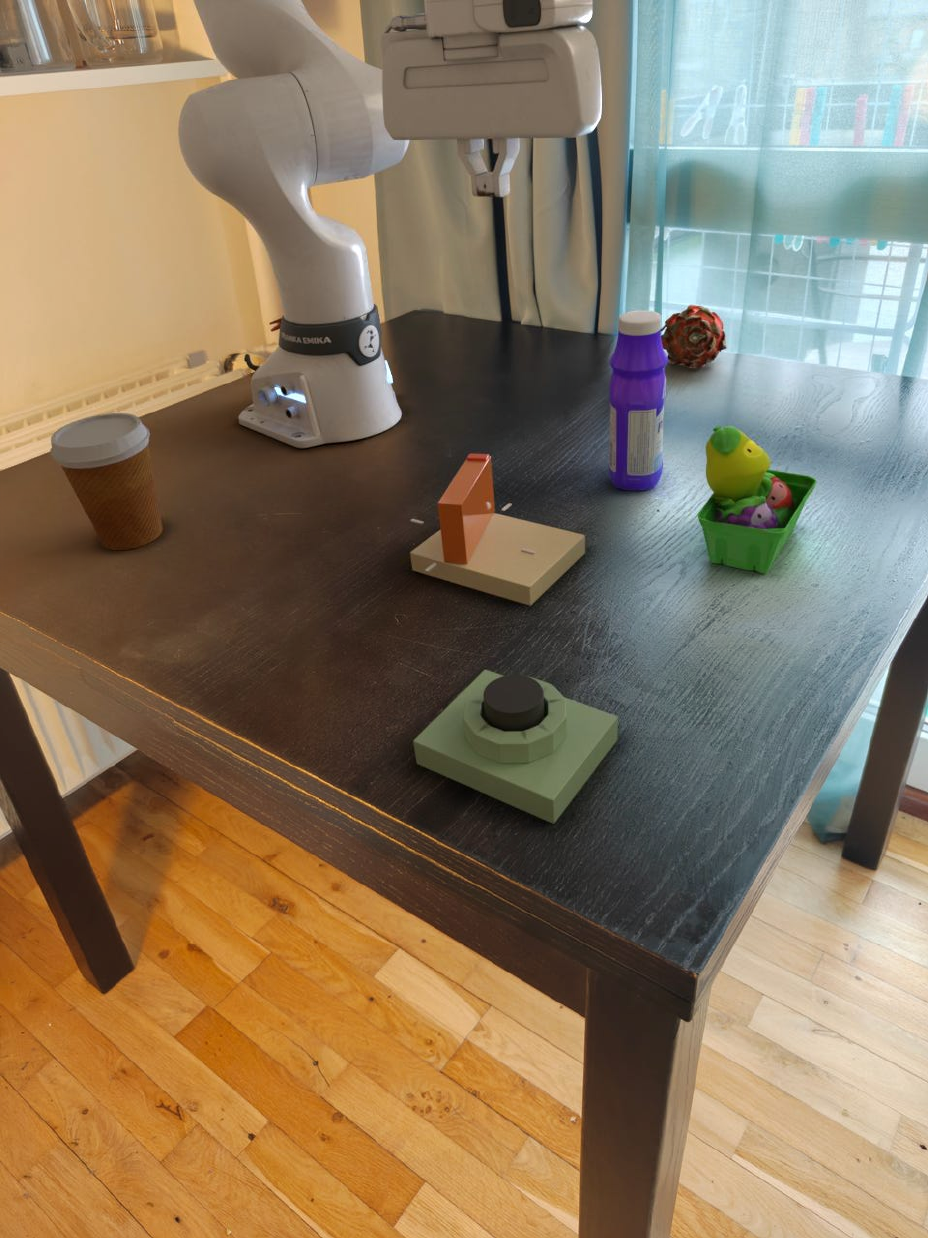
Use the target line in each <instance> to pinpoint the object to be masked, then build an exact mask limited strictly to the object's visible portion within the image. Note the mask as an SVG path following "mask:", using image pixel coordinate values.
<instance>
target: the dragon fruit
mask: <svg viewBox="0 0 928 1238" xmlns="http://www.w3.org/2000/svg"><path fill="white" fill-rule="evenodd" d="M663 331H664V332H663ZM661 332H663V334H661V340H662V347H663V350H664V351H666V354H667V355H666V356H667V358H668V362H670V363H671V364H673V365H674V366H679V365H683V366H684V367H685V368H688V369H693V370H699V369H702V368H703V367H704V366H705V365H708V364H711V363H712V362H714V361H715V360H716V359H717V358H718V356H719V353H720V352H722V351H723V350H727V338H726V337H727V336H726V332H725V330H724V322H723V320H722V318H721V317H720V315H718V313H717V312H715V311H711V310H710V309H709V308H707V307H704V306H703V305H696V304H689V305H688V306H687V308H686V309H685V310H683V311H681V312H676V313H672V314H671V315H670V316H669V317H668V318H667V319H666V320H665V321H664V325H663V326H661Z"/></svg>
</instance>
